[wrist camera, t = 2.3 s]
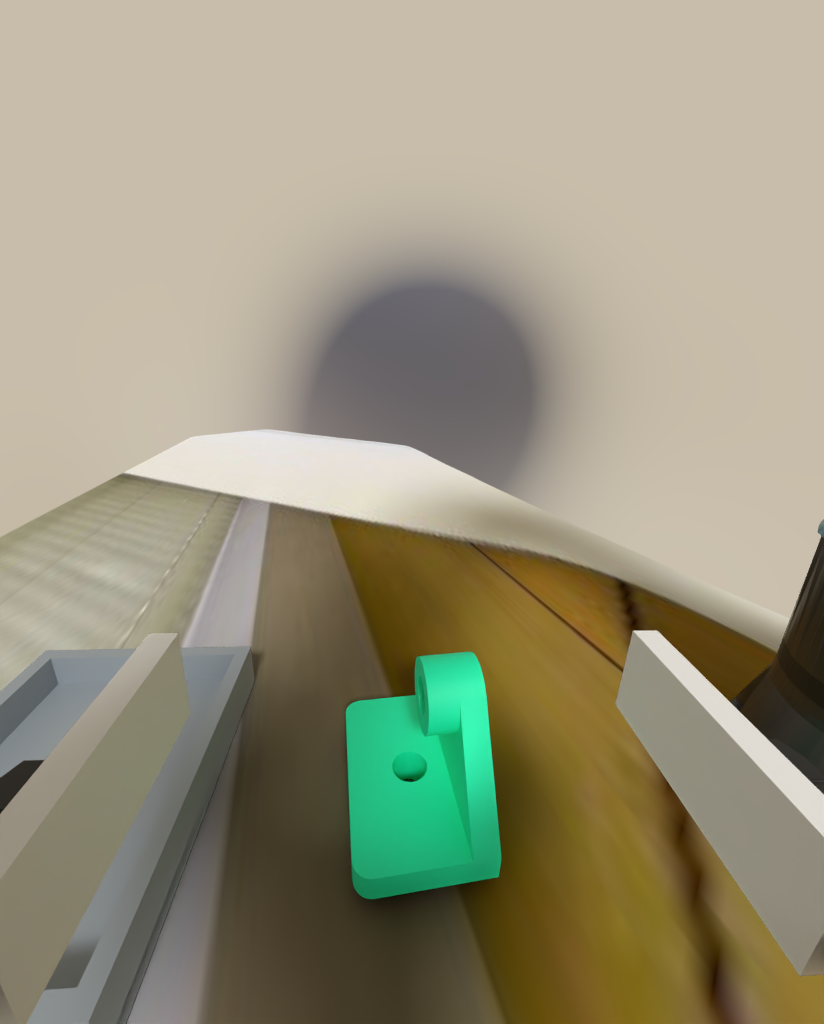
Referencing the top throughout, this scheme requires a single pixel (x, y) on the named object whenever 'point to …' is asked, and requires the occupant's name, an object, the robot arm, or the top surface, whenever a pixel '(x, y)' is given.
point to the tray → (155, 830)
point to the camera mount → (423, 783)
